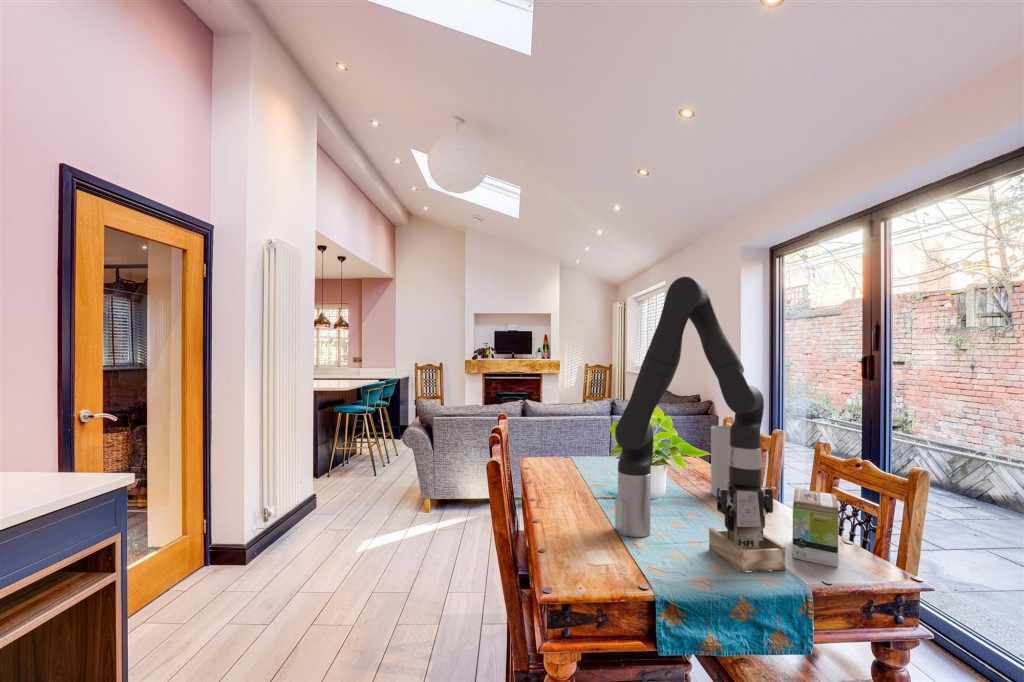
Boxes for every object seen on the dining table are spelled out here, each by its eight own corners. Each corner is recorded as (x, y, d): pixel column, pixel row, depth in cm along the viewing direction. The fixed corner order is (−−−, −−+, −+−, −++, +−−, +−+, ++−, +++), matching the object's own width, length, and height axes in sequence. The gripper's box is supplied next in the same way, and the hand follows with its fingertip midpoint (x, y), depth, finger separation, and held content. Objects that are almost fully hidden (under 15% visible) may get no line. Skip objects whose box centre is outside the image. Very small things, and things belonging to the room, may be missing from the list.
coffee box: (764, 558, 116) (764, 491, 116) (736, 556, 117) (736, 489, 117) (753, 544, 125) (752, 482, 125) (726, 542, 126) (726, 480, 126)
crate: (739, 572, 113) (739, 548, 113) (708, 549, 127) (708, 528, 127) (785, 570, 114) (785, 547, 115) (749, 547, 128) (749, 526, 128)
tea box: (839, 568, 116) (839, 507, 117) (791, 559, 121) (791, 500, 122) (836, 548, 129) (836, 492, 129) (793, 540, 134) (793, 487, 135)
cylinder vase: (715, 489, 184) (715, 424, 185) (751, 495, 177) (751, 428, 178) (707, 497, 174) (707, 428, 175) (744, 504, 167) (744, 432, 168)
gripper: (727, 468, 117) (727, 536, 116) (781, 467, 118) (781, 534, 118) (710, 461, 124) (710, 525, 124) (761, 461, 126) (761, 524, 125)
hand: (744, 529), depth 121 cm, fingers closed on coffee box, 7 cm apart
